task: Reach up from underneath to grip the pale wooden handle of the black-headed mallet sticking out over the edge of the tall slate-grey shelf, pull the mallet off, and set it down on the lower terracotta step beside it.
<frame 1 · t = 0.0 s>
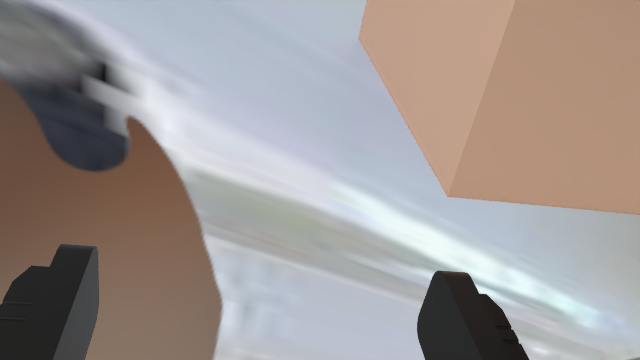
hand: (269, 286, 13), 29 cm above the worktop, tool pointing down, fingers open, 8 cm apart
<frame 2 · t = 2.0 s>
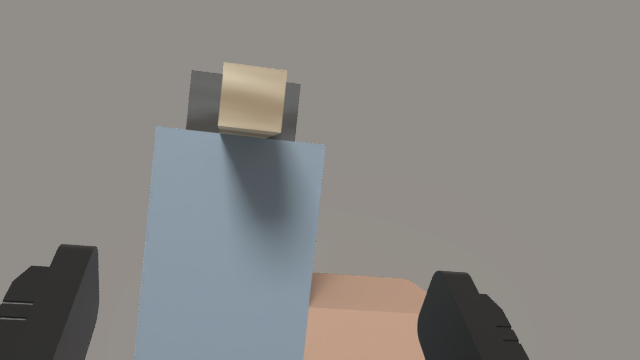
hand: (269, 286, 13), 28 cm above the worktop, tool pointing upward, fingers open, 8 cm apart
mallet: (242, 136, 37), point 32 cm above the worktop, touching step stand
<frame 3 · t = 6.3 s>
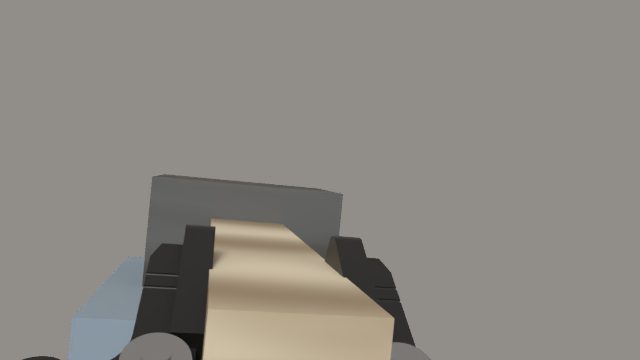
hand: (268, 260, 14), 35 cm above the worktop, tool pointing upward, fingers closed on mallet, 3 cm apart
mallet: (246, 321, 19), point 32 cm above the worktop, touching gripper, step stand
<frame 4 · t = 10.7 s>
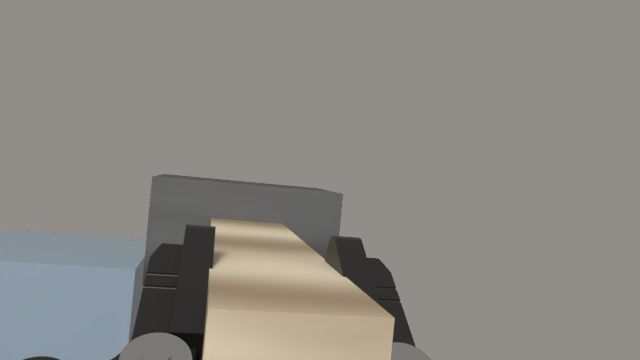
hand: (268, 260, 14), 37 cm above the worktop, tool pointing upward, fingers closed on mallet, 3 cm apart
mallet: (246, 320, 19), point 34 cm above the worktop, touching gripper
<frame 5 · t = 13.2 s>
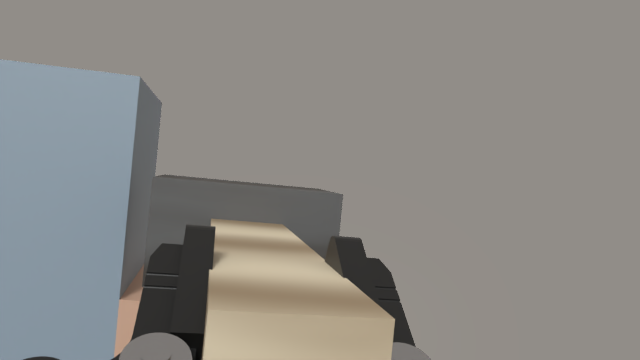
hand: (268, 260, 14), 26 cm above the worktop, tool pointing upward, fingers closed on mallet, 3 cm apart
mallet: (246, 321, 19), point 23 cm above the worktop, touching gripper
when the fingers open (26 cm above the worktop, at t = 15.2 s): mallet drops 2 cm, resting on step stand.
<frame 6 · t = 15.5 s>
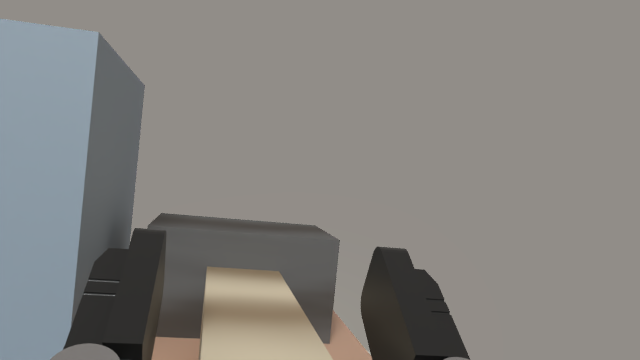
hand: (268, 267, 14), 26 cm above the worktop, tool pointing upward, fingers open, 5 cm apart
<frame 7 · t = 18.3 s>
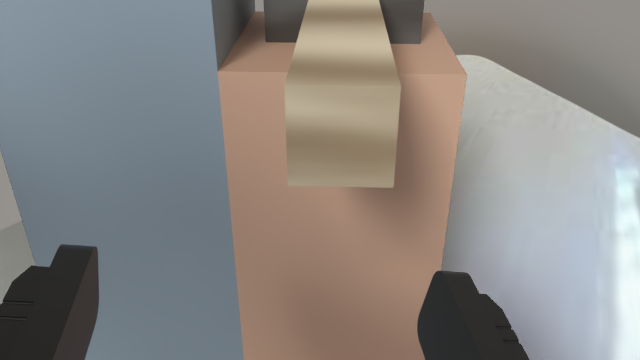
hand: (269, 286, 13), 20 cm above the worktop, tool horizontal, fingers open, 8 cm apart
mallet: (342, 70, 25), point 21 cm above the worktop, touching step stand
step stand: (259, 327, 40), on the worktop
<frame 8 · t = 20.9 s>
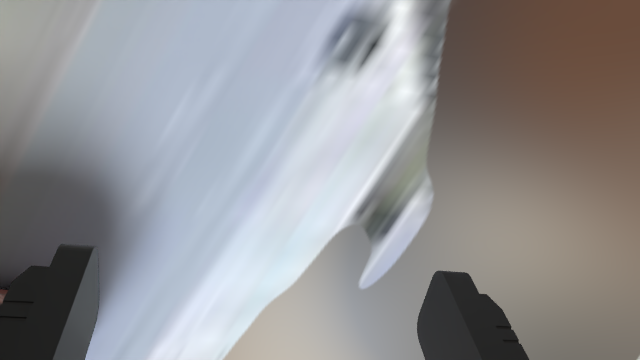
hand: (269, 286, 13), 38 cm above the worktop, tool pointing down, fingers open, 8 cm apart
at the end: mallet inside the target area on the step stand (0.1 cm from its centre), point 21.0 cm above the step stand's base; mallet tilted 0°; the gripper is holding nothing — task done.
